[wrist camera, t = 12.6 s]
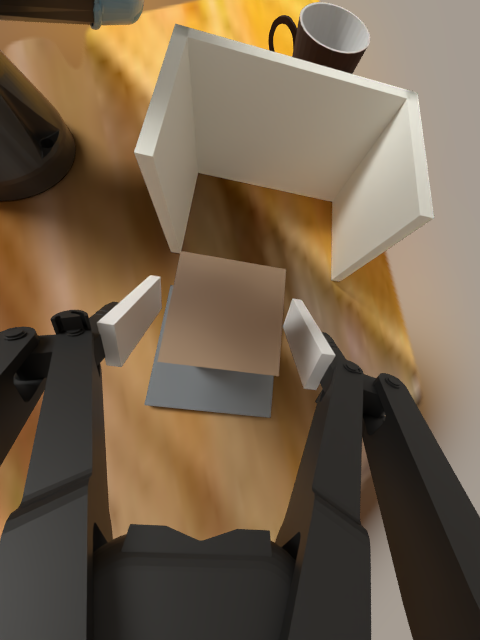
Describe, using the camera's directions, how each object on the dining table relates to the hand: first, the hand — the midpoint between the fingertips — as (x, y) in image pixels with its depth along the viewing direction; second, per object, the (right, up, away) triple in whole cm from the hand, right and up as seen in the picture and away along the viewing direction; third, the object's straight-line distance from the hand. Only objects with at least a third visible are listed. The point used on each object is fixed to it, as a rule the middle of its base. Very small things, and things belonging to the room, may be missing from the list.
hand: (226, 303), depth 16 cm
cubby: (+4, +12, +12) cm, 17 cm away
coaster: (-1, -5, +7) cm, 9 cm away
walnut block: (-1, -4, +6) cm, 8 cm away
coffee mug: (+10, +31, +17) cm, 37 cm away
